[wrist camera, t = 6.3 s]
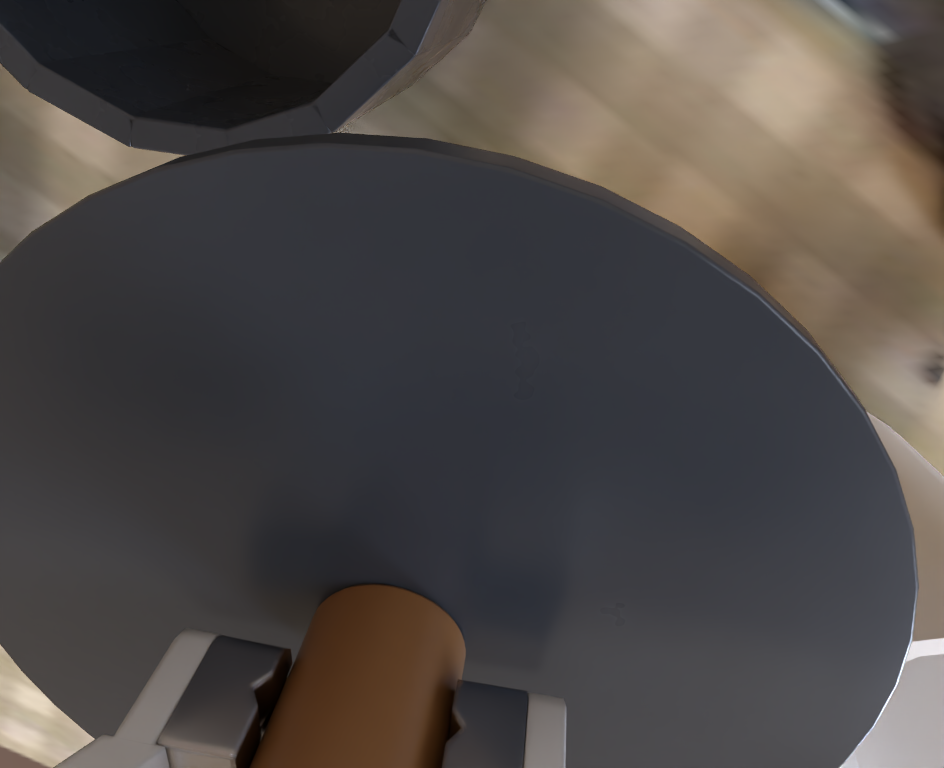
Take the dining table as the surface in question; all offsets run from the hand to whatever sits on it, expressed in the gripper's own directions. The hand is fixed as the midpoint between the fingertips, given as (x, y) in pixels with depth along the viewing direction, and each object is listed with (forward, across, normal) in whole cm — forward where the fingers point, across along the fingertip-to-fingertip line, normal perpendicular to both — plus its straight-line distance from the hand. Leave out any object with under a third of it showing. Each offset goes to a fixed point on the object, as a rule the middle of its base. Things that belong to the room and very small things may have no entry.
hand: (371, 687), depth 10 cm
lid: (+2, 0, 0) cm, 2 cm away
